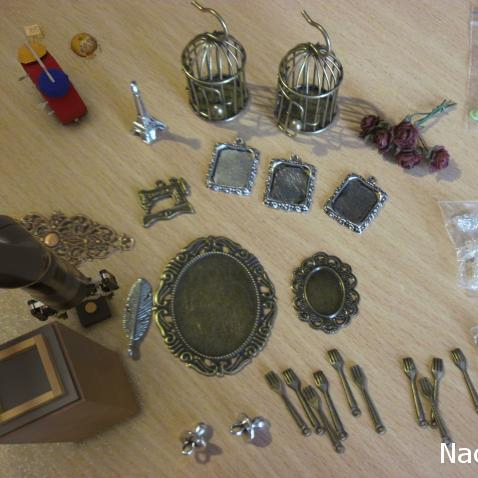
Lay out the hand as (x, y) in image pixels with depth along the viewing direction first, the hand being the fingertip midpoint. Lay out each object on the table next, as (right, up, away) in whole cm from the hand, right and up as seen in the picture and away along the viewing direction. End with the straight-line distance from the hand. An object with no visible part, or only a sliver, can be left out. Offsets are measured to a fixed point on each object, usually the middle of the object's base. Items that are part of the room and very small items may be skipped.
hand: (87, 304), depth 104 cm
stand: (+2, -18, +1) cm, 18 cm away
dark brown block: (-1, -2, +6) cm, 7 cm away
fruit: (-10, +56, +27) cm, 63 cm away
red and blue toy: (-14, +41, +21) cm, 49 cm away
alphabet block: (-23, +60, +27) cm, 69 cm away
